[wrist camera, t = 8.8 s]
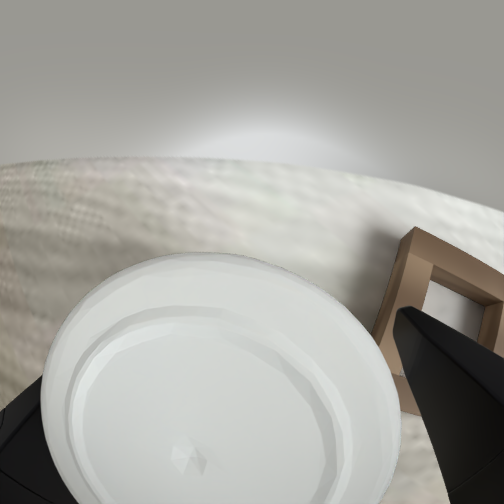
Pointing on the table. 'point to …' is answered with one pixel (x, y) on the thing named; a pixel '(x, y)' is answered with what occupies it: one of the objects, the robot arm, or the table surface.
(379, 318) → the square wooden frame
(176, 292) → the sprinkles bottle
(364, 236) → the table surface
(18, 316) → the table surface
